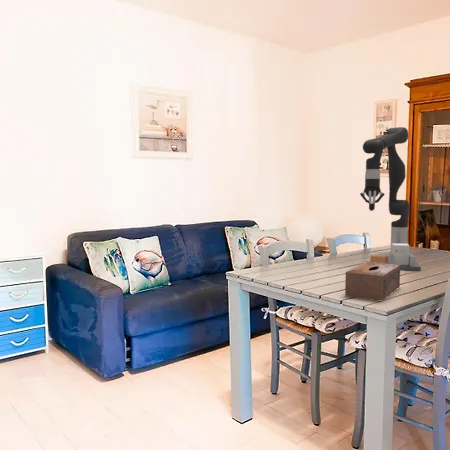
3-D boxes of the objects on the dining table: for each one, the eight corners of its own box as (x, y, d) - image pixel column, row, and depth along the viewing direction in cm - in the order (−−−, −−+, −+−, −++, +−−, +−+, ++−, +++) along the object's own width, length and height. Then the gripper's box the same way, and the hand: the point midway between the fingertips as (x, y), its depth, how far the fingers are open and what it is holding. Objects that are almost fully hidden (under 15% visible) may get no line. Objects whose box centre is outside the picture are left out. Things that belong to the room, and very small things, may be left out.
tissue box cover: (382, 302, 173) (382, 276, 172) (345, 296, 181) (345, 271, 180) (399, 288, 194) (400, 265, 193) (365, 283, 202) (366, 261, 201)
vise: (364, 264, 245) (365, 251, 244) (416, 266, 238) (417, 253, 238) (366, 269, 233) (366, 255, 233) (420, 271, 227) (421, 257, 226)
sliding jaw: (369, 260, 244) (369, 251, 244) (390, 261, 241) (390, 252, 241) (371, 265, 232) (371, 255, 232) (392, 265, 230) (392, 256, 229)
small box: (406, 263, 236) (407, 243, 235) (409, 265, 231) (409, 245, 230) (390, 263, 238) (391, 243, 237) (392, 265, 232) (393, 244, 231)
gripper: (359, 178, 239) (359, 211, 241) (386, 177, 236) (385, 211, 238) (359, 178, 246) (358, 210, 248) (385, 177, 243) (384, 210, 245)
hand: (371, 210), depth 243 cm, fingers closed
